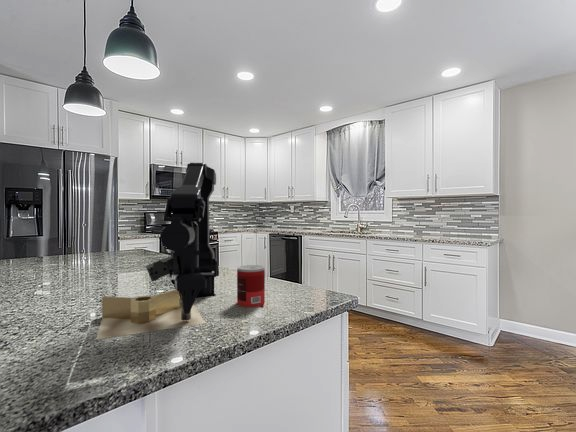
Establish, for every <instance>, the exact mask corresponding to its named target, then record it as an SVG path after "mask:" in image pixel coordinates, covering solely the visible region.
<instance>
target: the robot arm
mask: <svg viewBox="0 0 576 432" xmlns="http://www.w3.org/2000/svg"><path fill="white" fill-rule="evenodd" d="M215 185H217V173H216V171H215V169H213V168H212V167H210V166H208V165H207V164H206V163H204V162H190V163H187V166H186V168H185V176H184V178H183V181H182V183H181V186H178V187H177V188H174V189H173V190H172V192H171V193H170V197H167V202H166V206H165V211H164V216H163V222H167V223H168V222H170V223H169V224H168V225H165V227H163V229H162V232H161V234H160V242H161V244H162V245H163V247H164V248H165V249H168V250H169V251H170V256H168V257H164V258H162V259H158V260H157V261H153V262H152V263H149V264H147V265H146V266H145V267H146V272H147V273H148V276H149V278H150V279H151V280H150V281H151V282H155V281H157V280H159V279H160V278H163V277H164V276H167V275H168V278H172V277H173V276H174V277H173V278H174V279H171V280H170V282H171V284H172V285H173V288H174V290H177V291H179V301H181V299H182V304H183V309H184V313H185V314H188V313H190V311H191V308H192V306H193V305H195V301H196V299H201V298H202V299H203V298H208V297H216V296H217V295H216V293H215V278H217V277H219V276H220V270H219V268H220V267H219V262H218V260H217V257H215V255H216V254H215V251H214V249H213V247H212V246H211V244H210V197H211V196H212V194H213V193H214V191H215Z"/></svg>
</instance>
